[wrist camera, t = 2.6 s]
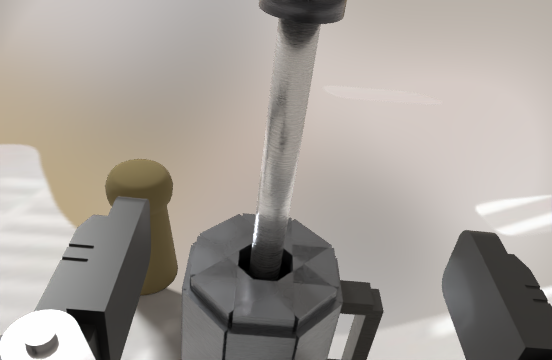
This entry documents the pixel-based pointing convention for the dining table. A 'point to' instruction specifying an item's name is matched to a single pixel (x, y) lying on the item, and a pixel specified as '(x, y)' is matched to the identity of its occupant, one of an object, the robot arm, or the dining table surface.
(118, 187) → the cork
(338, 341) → the dining table surface
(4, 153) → the dining table surface
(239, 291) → the coffee press
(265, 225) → the plunger
